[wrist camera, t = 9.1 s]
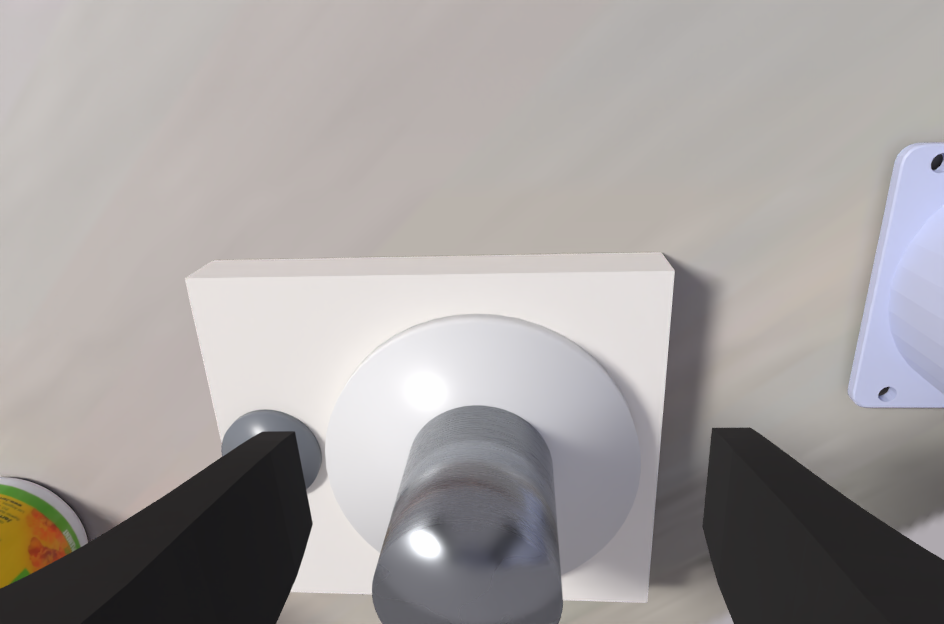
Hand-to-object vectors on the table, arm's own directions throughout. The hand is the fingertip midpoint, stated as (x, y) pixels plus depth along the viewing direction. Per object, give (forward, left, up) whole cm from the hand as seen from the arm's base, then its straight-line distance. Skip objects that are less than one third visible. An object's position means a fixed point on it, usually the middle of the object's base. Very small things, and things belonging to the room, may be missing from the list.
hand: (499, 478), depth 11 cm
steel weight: (+1, +5, -7) cm, 8 cm away
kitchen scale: (+3, +5, -9) cm, 11 cm away
